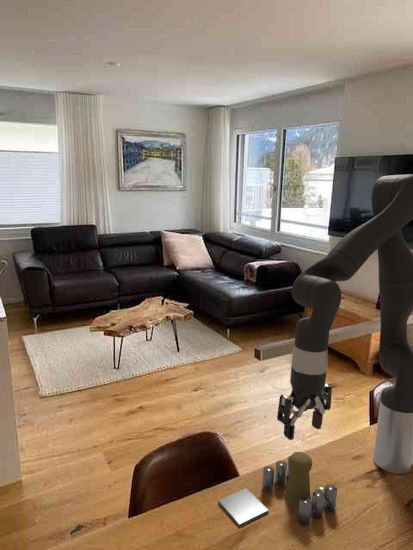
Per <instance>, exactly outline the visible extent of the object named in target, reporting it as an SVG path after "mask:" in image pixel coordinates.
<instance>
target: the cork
mask: <svg viewBox="0 0 413 550" xmlns="http://www.w3.org/2000/svg"><path fill="white" fill-rule="evenodd" d="M289 465H290V468H291V470H290V474H289V478H287V483H286V487H285V492H284V495H283V496H284V499H285V501H286V502H287V503H288V504H290V505H291V506H293V507H296V508H299V501H300V499H301V498H303V497H306V498H309V499H310V500H311V501H312V497H311V481H310V479H311V478H310V472H311V470H312V468H313V460H312V458H311V456H310V455H309V454H308V453H306V452H302V451H295V452H293V453H292V454H291V455H290V459H289Z"/></svg>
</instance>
